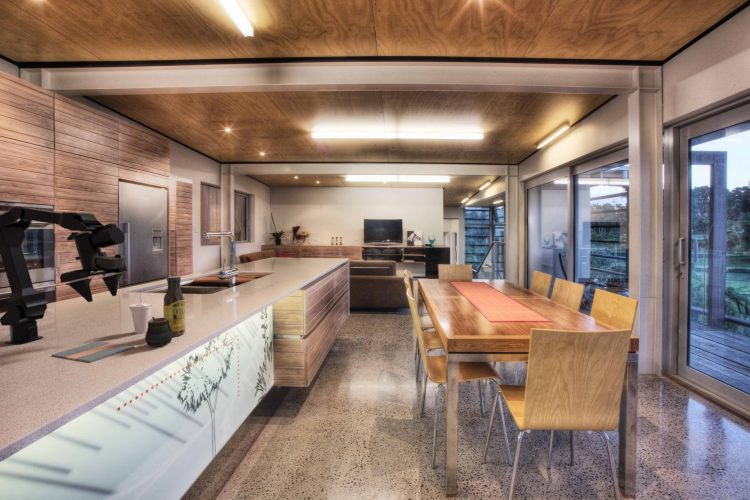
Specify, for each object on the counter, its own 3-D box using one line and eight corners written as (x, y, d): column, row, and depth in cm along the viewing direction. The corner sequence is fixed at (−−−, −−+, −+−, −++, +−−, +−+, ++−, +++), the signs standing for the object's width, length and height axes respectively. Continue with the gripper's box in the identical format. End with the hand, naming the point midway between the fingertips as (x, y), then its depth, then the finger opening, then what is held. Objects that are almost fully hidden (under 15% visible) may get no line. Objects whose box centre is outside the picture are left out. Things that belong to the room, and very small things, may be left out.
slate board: (52, 355, 96) (51, 354, 96) (98, 342, 107) (98, 341, 107) (90, 362, 91) (90, 361, 91) (134, 347, 102) (134, 346, 102)
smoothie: (135, 335, 113) (133, 294, 113) (127, 332, 117) (125, 293, 116) (156, 331, 119) (154, 291, 118) (147, 328, 122) (145, 290, 121)
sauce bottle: (175, 338, 111) (173, 278, 110) (159, 337, 112) (156, 277, 111) (190, 332, 117) (188, 275, 116) (174, 331, 118) (172, 275, 117)
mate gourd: (174, 339, 109) (173, 309, 109) (171, 347, 102) (170, 315, 102) (148, 342, 106) (147, 311, 106) (143, 350, 99) (141, 317, 99)
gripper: (87, 247, 97) (102, 299, 98) (135, 244, 116) (147, 288, 116) (51, 255, 97) (66, 307, 98) (104, 251, 116) (117, 295, 117)
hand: (103, 298), depth 107 cm, fingers open, 9 cm apart
